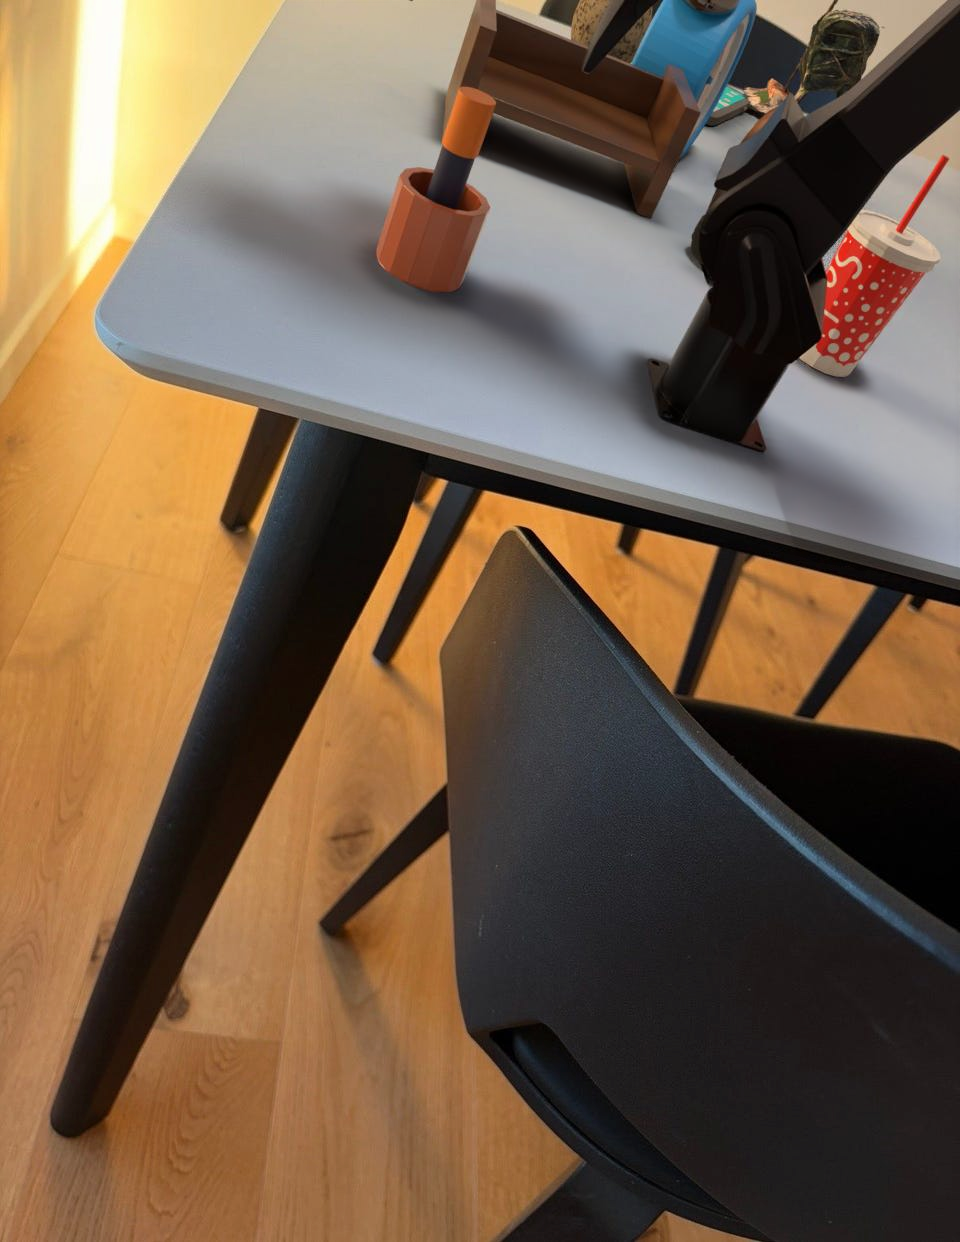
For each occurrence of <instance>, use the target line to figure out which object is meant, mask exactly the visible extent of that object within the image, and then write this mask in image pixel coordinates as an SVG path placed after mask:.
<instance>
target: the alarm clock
mask: <svg viewBox="0 0 960 1242" xmlns="http://www.w3.org/2000/svg"><path fill="white" fill-rule="evenodd" d="M757 11H758V7H757V2H756V0H662V2H661V3H660V5H659V6H658V8H657V9H656V12H655V14H654V15H653V16H652V19H651V23H650V25H649V27H648V29H647V31H646V33H645V35H644V37H643V39H642V41H641V43H640V45H639V47H638V49H637V52H636V54H635V56H634V59H633V61H632V62H631V63H630V64H632V65H635V66H637V67H640V68H642V69H645V70H647V71H650V72H652V73H655V74H657V75H659V76H662V77H663V74H664V72H665V70H666V68H667V65H668V64H671V65H673V66H676V67H678V68H681V69H682V70H683V72H684V75H685V77H686V79H687V82H688V84H689V86H690V89H691V91H692V93H693V96H694V98H695V100H696V103H697V105H698V107H699V110H700V112H701V114H700V116H699V118H698V120H697V122H696V124H695V126H694V129H693V131H692V133H691V135H690V137H689V139H688V141H687V143H686V145H685V148H684V150H683V152H682V154H681V156H680V158H681V157H683V156H684V155H686V153H687V152H688V151H689V150H690V149H691V147H692V146H693V144H694V143H695V142H696V140H697V139H698V137H699V135H700V134H701V132H702V131H703V129H704V127H705V126H706V125H707V124H706V123H707V121H708V119H709V118H710V116H711V114H712V112H713V111H714V109H715V107H716V105H717V103H718V101H719V100H720V98H721V96H722V94H723V92H724V90H725V88H726V86H727V85H728V84H729V82H730V80H731V78H732V76H733V73H734V72H735V69H736V67H737V65H738V63H739V62H740V59H741V56H742V54H743V52H744V50H745V46H746V45H747V42H748V39H749V38H750V34H751V32H752V29H753V26H754V24H755V23H754V22H755V19H756V16H757Z"/></svg>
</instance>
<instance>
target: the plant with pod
mask: <svg viewBox="0 0 960 1242" xmlns="http://www.w3.org/2000/svg"><path fill="white" fill-rule="evenodd" d="M838 2H839V0H833V1H832V3H831V5H829V7H828V9H827V10H826V12H825V13H824V14H822V15H821V16H820V17H819V18H818V19H817V20H816V23H814V24H813V25H812V28H811V33H810V36H809V37H810V38H809V41H808V43H807V46H806V49H805V51H804V52H803V55H802V57H800V60H799V62H798V63H797V65H796V67H795V69H794V71H793V72H792V73H791V75H790V77H789V79H788V81H787V83H786V84H785V86H784V85H783V84H781V83H780V82H779V81H777V80H775V79H774V78H771V79H769V80H767V84H766V87H764V88H755V87H749V86H748V85H746V84H744V83H742V84H743V87H742V89H743V91H742V94H744V96H745V98H746V99H748V100H749V101H751V103H750V107H752V108H754V109H756V111H758V112H761V113H764V114H766V113H767V112H768V111H770V110H772V109H773V108H776V107H778V106H779V105H780V104H781V103H782V101H783V100H784V99H785V98H786V97H787V95H789V94H792V95H793V96H794V98H795V99H796V101H797V103H798V105H800V102H801V101H802V100H803V99H804V97H805V96H806V95H807V94H808V93H809V92H820V91H830V92H832V93H836V98H835V99H837V98H838V97H840V96H842V95H843V94H844V92H848V91H849V90H850V89H851V88H852V87H854V86H855V85H856V84H857V83H858V82H859V81H860V80H861V79H862V78H863V76H864V73H865V71H866V70H867V63H868V61H869V58H870V56H872V54H873V52H874V51H875V48H876V46H877V44H878V41H879V38H880V36H881V31H880V26H879V24H878V23H877V22H876V20H875V19H874V18H873V17H872V16H871V15H869V14H866V13H863V12H857V11H854V10H853V11H851V10H850V11H849V10H847V9H843V10H839V9H835V10H834V8H835V6H836V5H837V3H838ZM881 28H882V29H886V27H884V26H881ZM798 71H799V78H800V85H799V88H798V90H797V91H796V93H795V95H794V94H793V93H792V92H791V91H790V90H789V89H788V85H789V83H790V82H791V81H792V80H793V78H794V77H795V75H796V74H797V73H798ZM744 96H743V97H744ZM744 100H745V99H744ZM748 103H749V102H748Z"/></svg>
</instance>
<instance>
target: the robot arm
mask: <svg viewBox="0 0 960 1242" xmlns="http://www.w3.org/2000/svg"><path fill="white" fill-rule="evenodd" d="M409 1H410V2H413V1H414V0H409ZM657 2H659V0H610V2H609V4H608V6H607V8H606V10H605V12H604V14H603V16H602V17H601V19H600V21H599V23H598V25H597V27H596V29H595V31H594V33H593V36H592V38H591V41H590V43H589V46H588V49H587V51H586V54H585V57H584V59H583V62H582V71H583V72H584V73H587V74H590V73H591V72H592V71H593V70H594V69H595V68H596V67H597V65H598V64H599V63H600V62H601V61H602V60H603V59H604V58H605V57H606V55H607V54H608V53H609V52H610V51H611V50H612V49H613V48H614V47H615V45H616V44H617V43H618V42H619V41H620V40H621V39H622V38H623V37H624V36H625V34H626V33H627V32H628V31H629V30H630V29H631V28H632V27H633V26H634V24H635V23H636V22H637V21H638V20H639V19H640V18H641V17H642V16H643V15H644V14H645V13H646V12H647V11H648V10H649V9H650V8H651V7H652V8H653V6H654V5H655V4H657ZM792 94H793V93H792ZM792 94H789V95H787V97H786V98H785V99H784V100H783V101H782V103H781V104H780V105H779V106H778V108H777V109H776V110H775V111H774V113H773V114H772V115H771V117H770V118H769V119H768V121H767V122H766V123H765V125H764V126H763V127H762V128H761V129H760V130H759V131H758V132H757V133H756V134H755V135H753V136H752V137H751V138H749V139H748V140H747V141H745V142H743V143H741V142H740V143H741V144H740V143H738V144H736V145H734V146H731V147H730V148H728V150H727V152H726V155H725V157H724V160H723V162H722V164H721V167H720V169H719V171H718V173H717V176H716V178H715V180H714V183H713V187H714V188H715V190H714V192H713V195H712V198H711V200H710V202H709V205H708V207H707V209H706V211H705V213H704V215H705V217H704V219H703V221H702V224H701V227H700V234H699V252H700V256H701V260H702V264H701V265H702V266H703V268H704V270H705V271H706V273H707V274H708V276H709V277H710V279H711V281H712V282H713V284H712V287H710V288H709V289H708V290H707V291H706V294H705V295H704V297H703V299H702V301H701V303H700V305H699V306H698V309H697V310H696V312H695V314H694V316H693V318H692V319H691V322H690V323H689V325H688V327H687V328H686V331H685V333H684V335H683V336H682V338H681V340H680V342H679V344H678V346H677V348H676V349H675V352H674V354H673V356H672V357H671V358H670V359H671V360H670V361H669V363H668V362H664V361H662V360H659V359H657V358H653V357H651V358H648V359H647V361H646V367H647V371H648V375H649V380H650V384H651V385H650V386H651V389H652V393H653V398H654V399H653V400H654V403H655V407H656V412H657V416H658V418H660V420H662V421H664V422H665V423H669V424H672V425H675V426H677V427H681V428H683V429H687V430H689V431H693V432H696V433H699V434H702V435H705V436H709V437H712V438H715V439H717V440H721V441H723V442H727V443H731V444H733V445H736V446H739V447H742V448H745V449H748V450H751V451H755V452H757V453H761V454H762V455H764V454H765V452H766V450H767V444H766V442H765V439H764V436H763V433H762V430H761V427H760V424H759V421H758V417H759V415H760V413H761V412H762V411H763V409H764V407H765V405H766V404H767V402H768V400H769V399H770V398H771V396H772V394H773V392H774V391H775V389H776V388H777V386H778V384H779V383H780V381H781V380H782V378H783V376H784V374H785V373H786V371H787V369H788V368H789V366H790V365H791V364H793V363H794V362H796V361H797V360H798V359H800V358H799V357H801V356H802V355H803V354H804V353H805V352H807V351H808V350H809V349H810V348H812V347H813V346H814V345H815V344H817V343H818V342H819V341H820V340H821V337H822V329H823V319H824V310H825V300H826V291H827V281H828V277H827V274H826V270H827V269H826V267H825V264H824V260H823V258H824V257H825V255H827V254H828V252H829V251H830V250H831V249H832V247H834V246H835V244H836V243H837V242H838V241H839V240H840V238H841V237H842V236H843V235H845V233H846V232H847V229H848V227H849V226H850V225H851V223H852V222H853V221H854V219H855V218H856V216H857V215H858V214H859V212H860V211H861V210H862V209H863V208H864V207H865V206H866V205H867V203H868V202H869V200H870V199H871V198H872V197H873V195H874V194H875V192H876V191H877V190H878V189H879V187H880V186H881V184H882V183H883V181H884V180H885V178H886V177H887V176H888V175H889V174H890V172H891V171H892V170H893V169H894V168H895V167H896V166H897V164H899V163H900V162H901V161H902V160H903V159H904V158H905V157H907V156H908V155H910V153H911V152H913V151H914V150H915V149H916V148H917V147H919V146H920V145H921V144H923V143H924V141H926V140H927V139H928V138H929V137H930V136H932V135H933V134H934V133H935V132H937V130H939V129H940V128H941V127H942V126H943V125H945V124H946V123H947V122H948V121H950V119H951V118H953V117H954V116H955V115H956V114H958V113H959V112H960V0H946V1H945V2H944V3H943V4H941V5H940V6H939V7H938V8H937V9H936V10H935V11H934V12H932V14H930V16H928V17H927V18H926V19H924V21H923V22H922V23H921V24H920V25H918V27H917V28H915V29H914V30H913V31H912V32H911V33H910V34H909V35H908V36H906V37H905V38H904V40H902V41H901V42H900V43H899V44H897V46H896V47H895V48H894V49H893V50H891V51H890V52H889V53H888V54H887V55H886V56H885V57H884V58H883V59H882V60H880V61H879V62H878V63H877V64H876V65H875V66H874V67H873V68H872V69H870V71H869V72H867V73H866V74H865V75H863V76H862V78H861V80H860V81H859V82H858V83H857V84H856V85H855V86H854V87H852V88H851V89H850V90H848V91H845V93H843V95H842V96H840V97H838V98H835V99H833V100H831V101H829V102H828V103H826V104H825V105H822V106H821V107H819V108H817V109H815V110H813V111H812V112H809V113H808V114H804V112H803V110H802V108H801V106H800V104H798V103H797V101H796V99H795V98H794V96H795V95H794V94H793V95H794V96H793V95H792Z"/></svg>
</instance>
